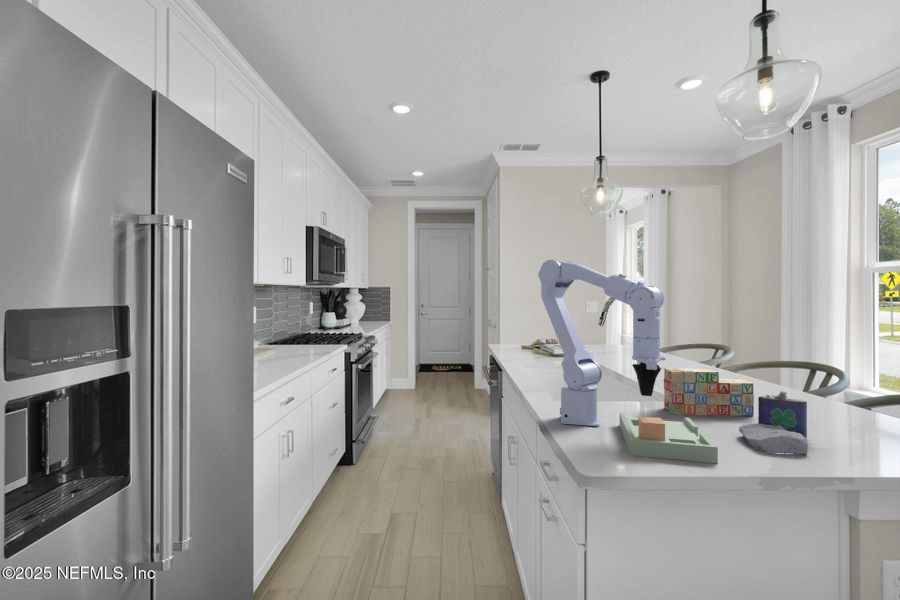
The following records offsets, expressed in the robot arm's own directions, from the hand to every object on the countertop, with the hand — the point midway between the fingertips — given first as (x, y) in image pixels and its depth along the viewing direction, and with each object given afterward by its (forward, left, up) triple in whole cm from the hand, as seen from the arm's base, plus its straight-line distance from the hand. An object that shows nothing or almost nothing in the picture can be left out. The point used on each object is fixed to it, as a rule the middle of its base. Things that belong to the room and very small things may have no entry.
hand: (646, 395), depth 99 cm
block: (0, -9, -8) cm, 12 cm away
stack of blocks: (+20, +28, -10) cm, 36 cm away
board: (+3, -2, -10) cm, 11 cm away
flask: (+31, +9, -10) cm, 34 cm away
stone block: (+25, +2, -10) cm, 28 cm away
